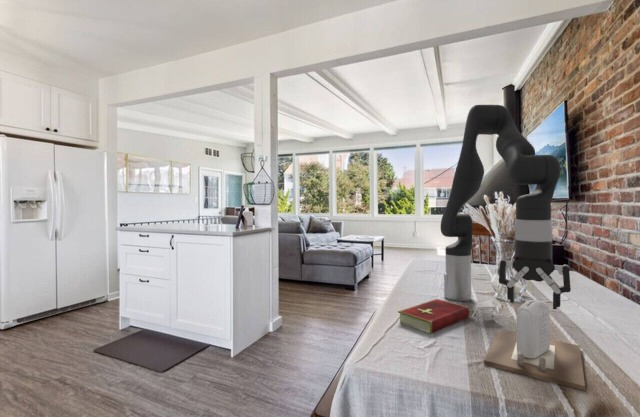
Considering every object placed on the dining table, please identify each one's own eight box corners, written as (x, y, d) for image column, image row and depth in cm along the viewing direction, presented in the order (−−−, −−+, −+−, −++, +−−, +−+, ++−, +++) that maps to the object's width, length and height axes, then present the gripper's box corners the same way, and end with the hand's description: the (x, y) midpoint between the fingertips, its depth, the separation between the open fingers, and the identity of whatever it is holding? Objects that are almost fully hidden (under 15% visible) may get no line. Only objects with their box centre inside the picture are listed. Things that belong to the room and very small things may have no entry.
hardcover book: (469, 319, 104) (469, 306, 103) (431, 335, 91) (431, 321, 91) (436, 309, 113) (436, 298, 113) (398, 323, 101) (398, 310, 101)
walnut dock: (483, 364, 74) (483, 349, 74) (498, 332, 91) (498, 320, 91) (584, 390, 63) (584, 373, 63) (579, 349, 80) (579, 335, 80)
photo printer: (533, 343, 82) (532, 295, 82) (552, 349, 78) (552, 299, 78) (513, 354, 76) (513, 302, 76) (534, 361, 72) (533, 307, 72)
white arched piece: (500, 327, 95) (499, 311, 95) (469, 321, 100) (469, 306, 100) (504, 315, 105) (504, 301, 105) (476, 311, 110) (476, 297, 110)
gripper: (497, 238, 78) (497, 303, 78) (571, 242, 69) (570, 315, 70) (501, 235, 84) (501, 296, 84) (570, 238, 75) (570, 306, 76)
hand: (533, 305), depth 77 cm, fingers open, 8 cm apart
